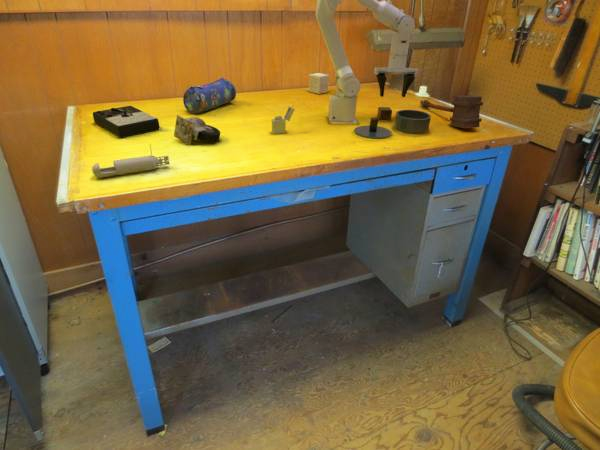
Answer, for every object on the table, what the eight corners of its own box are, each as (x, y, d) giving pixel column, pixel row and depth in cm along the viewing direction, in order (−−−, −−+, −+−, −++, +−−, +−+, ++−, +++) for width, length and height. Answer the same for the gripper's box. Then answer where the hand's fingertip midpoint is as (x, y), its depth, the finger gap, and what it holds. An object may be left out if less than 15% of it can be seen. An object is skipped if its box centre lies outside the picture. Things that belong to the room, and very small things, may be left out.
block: (379, 121, 148) (380, 110, 146) (376, 118, 152) (378, 107, 150) (390, 121, 149) (392, 110, 146) (387, 118, 152) (389, 107, 150)
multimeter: (132, 115, 144) (130, 101, 142) (160, 129, 133) (158, 114, 130) (93, 123, 136) (90, 107, 134) (120, 138, 125) (116, 122, 122)
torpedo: (95, 182, 99) (88, 156, 96) (93, 174, 103) (87, 149, 99) (171, 169, 107) (168, 145, 103) (167, 163, 110) (164, 139, 107)
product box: (328, 92, 182) (329, 74, 178) (319, 94, 178) (320, 76, 175) (317, 89, 186) (318, 72, 182) (308, 91, 182) (309, 74, 178)
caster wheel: (223, 147, 128) (200, 152, 120) (195, 132, 132) (172, 136, 124) (227, 126, 125) (204, 130, 117) (199, 112, 129) (175, 114, 121)
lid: (357, 140, 130) (359, 124, 128) (351, 128, 141) (352, 113, 138) (395, 141, 131) (397, 125, 129) (386, 128, 141) (388, 113, 139)
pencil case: (199, 116, 146) (197, 88, 141) (181, 112, 149) (178, 85, 144) (238, 103, 162) (237, 77, 158) (220, 99, 166) (219, 74, 161)
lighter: (273, 134, 133) (273, 109, 129) (271, 132, 134) (271, 107, 130) (294, 132, 135) (294, 107, 131) (292, 130, 137) (292, 105, 132)
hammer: (464, 128, 139) (467, 97, 136) (412, 119, 169) (414, 93, 165) (481, 127, 141) (485, 96, 137) (427, 118, 170) (429, 92, 167)
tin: (398, 135, 136) (401, 119, 133) (390, 125, 145) (392, 109, 142) (432, 136, 136) (435, 119, 134) (421, 125, 146) (424, 109, 143)
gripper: (379, 56, 135) (374, 98, 142) (423, 57, 136) (416, 99, 143) (374, 52, 141) (370, 93, 148) (417, 53, 142) (410, 94, 149)
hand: (392, 96), depth 146 cm, fingers open, 7 cm apart
